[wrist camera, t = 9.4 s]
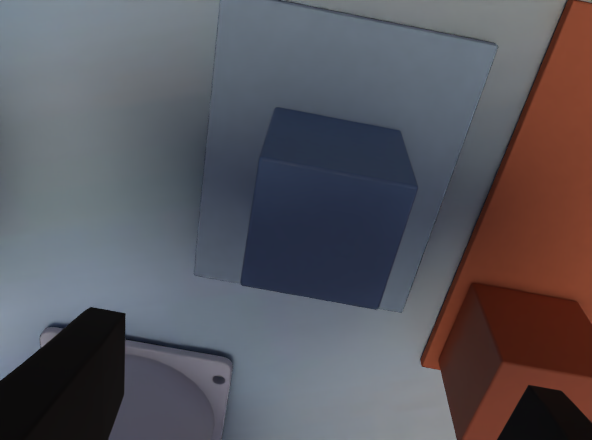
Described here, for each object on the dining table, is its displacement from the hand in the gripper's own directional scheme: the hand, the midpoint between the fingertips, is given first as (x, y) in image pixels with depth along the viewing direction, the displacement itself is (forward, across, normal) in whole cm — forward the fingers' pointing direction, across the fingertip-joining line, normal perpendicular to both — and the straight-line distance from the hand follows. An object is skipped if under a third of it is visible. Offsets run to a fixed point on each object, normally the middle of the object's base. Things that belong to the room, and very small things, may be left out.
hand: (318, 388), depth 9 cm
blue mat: (+9, 0, 0) cm, 9 cm away
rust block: (+9, -8, +5) cm, 13 cm away
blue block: (+9, 0, 0) cm, 9 cm away
